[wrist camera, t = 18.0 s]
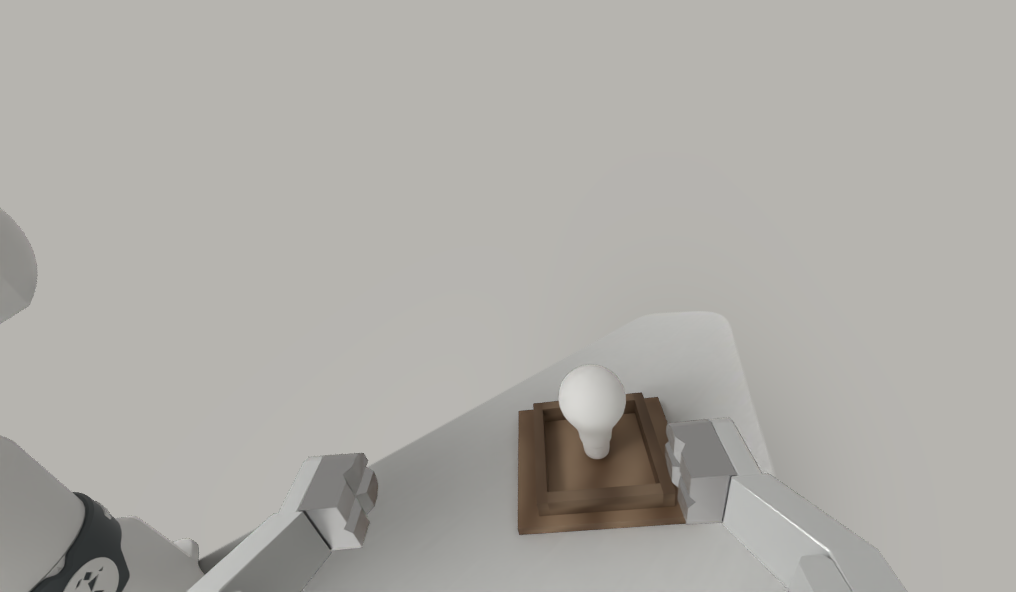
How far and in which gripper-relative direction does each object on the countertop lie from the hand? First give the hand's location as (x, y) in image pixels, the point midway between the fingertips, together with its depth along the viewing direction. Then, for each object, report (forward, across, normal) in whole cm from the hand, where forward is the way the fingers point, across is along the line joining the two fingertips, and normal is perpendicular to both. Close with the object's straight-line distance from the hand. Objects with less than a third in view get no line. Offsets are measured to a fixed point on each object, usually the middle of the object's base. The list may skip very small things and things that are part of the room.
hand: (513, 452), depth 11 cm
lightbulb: (+21, -4, +28) cm, 35 cm away
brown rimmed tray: (+21, -4, +29) cm, 36 cm away
